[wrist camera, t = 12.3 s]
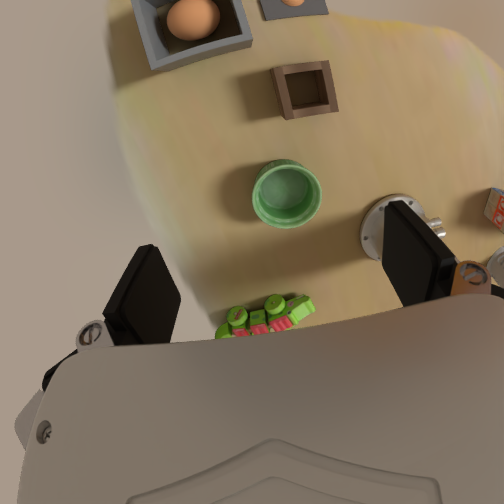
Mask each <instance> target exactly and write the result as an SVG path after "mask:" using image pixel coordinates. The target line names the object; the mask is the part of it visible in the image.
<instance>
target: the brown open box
mask: <svg viewBox="0 0 504 504" xmlns="http://www.w3.org/2000/svg"><path fill="white" fill-rule="evenodd" d="M311 70H314V74H315V78H316V83H317V87H318V92H319V97H320V102H314V103H308V104H302V105H296V106H292V105H291V101H290V96H289V92H288V88H287V84H286V80H285V76H284V75H285V74H291V73H297V72H304V71H311ZM270 72H271V75H272V79H273V83H274V87H275V91H276V95H277V99H278V103H279V108H280V112H281V116H282V117H283V118H284V119H285V120H289V119H295V118H300V117H306V116H312V115H318V114H325V113H332V112H339V110H338V104H337V99H336V93H335V88H334V83H333V78H332V74H331V69H330V64H329V60H327V61H318V62H309V63H302V64H295V65H288V66H282V67H276V68H272V69H270Z"/></svg>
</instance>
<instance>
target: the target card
mask: <svg viewBox="0 0 504 504" xmlns="http://www.w3.org/2000/svg"><path fill="white" fill-rule="evenodd" d="M260 2H261V5H262V9H263V12H264V15H265V18H266V21H268V20H274V19H281V18H289V17H298V16H309V15H324V14H329V13H328V9H327V6H326V3H325V0H260Z"/></svg>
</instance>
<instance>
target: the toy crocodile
mask: <svg viewBox="0 0 504 504" xmlns="http://www.w3.org/2000/svg"><path fill="white" fill-rule="evenodd" d="M264 307H265V309H266V311H267V312H268V314H267V313H266V311H265V309H262V310H258V311H253V312H250V319H248V318H247V317H248V314H247V312H246V310H245V309H244V308H243V307H241V306H236V307H233V308H232V309H231V310H229V312H228V313H227V316H226V318H227V321H228V322H226V323H224V324H223V325H221V326H220V327H219V328H218V329H217V331H216V333H215V339H222V338H231V337H240V336H248V335H256V334H264V333H270V328H273V329H274V330H275V332H278V331H283V330H288V329H290V328H292V327H293V326H294V325H297V324H298V322H299V321H300V320H301V319H303V318H304V317H305V316H307V315H308V314H310V313H313V312H315V310H316V308H315V307H314V305H313V303H312V301H311V299H310V297H308V296H305V295H304V294H303V295H300V296H298V297H295V298H293V299H290V300H288V301H284V299H283V298H282V296H281V295H278V294H276V295H272V296H270V297H269V298H268V299H267V300H266V301H265V304H264Z"/></svg>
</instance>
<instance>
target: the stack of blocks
mask: <svg viewBox="0 0 504 504" xmlns="http://www.w3.org/2000/svg"><path fill="white" fill-rule="evenodd" d="M483 214H484V215H485V216H486V217H487V218H488V219H489V220H491V221H492V223H494V224H495V225H496V226H497V227H498V228H499V229H500V230H501V232H502V233H503V234H504V190H501V189H496V188H491V191H490V194H489V198H488V201H487V204H486V207H485V210H484V213H483Z"/></svg>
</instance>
